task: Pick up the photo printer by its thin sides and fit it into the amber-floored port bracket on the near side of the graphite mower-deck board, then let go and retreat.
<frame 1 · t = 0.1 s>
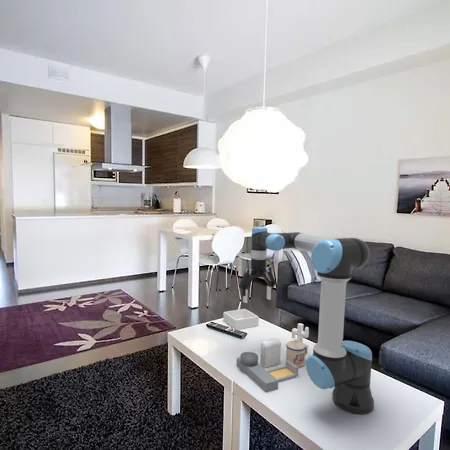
hand: (257, 300, 164), 28 cm above the table, fingers open, 13 cm apart
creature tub: (240, 323, 208), on the table
photo printer: (270, 364, 158), on the table
figurine: (299, 352, 171), on the table
teacup with lid: (297, 362, 160), on the table
deck: (255, 376, 147), on the table
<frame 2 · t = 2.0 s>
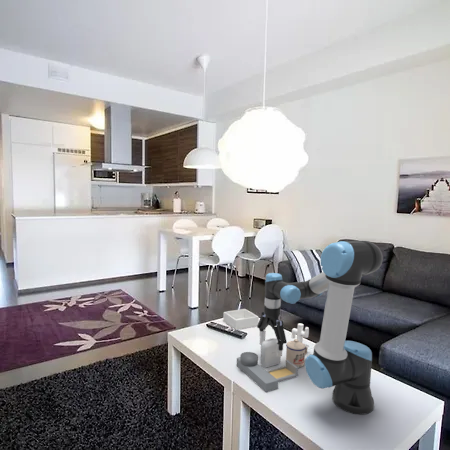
hand: (270, 349, 157), 7 cm above the table, fingers open, 13 cm apart
nothing on the table moved.
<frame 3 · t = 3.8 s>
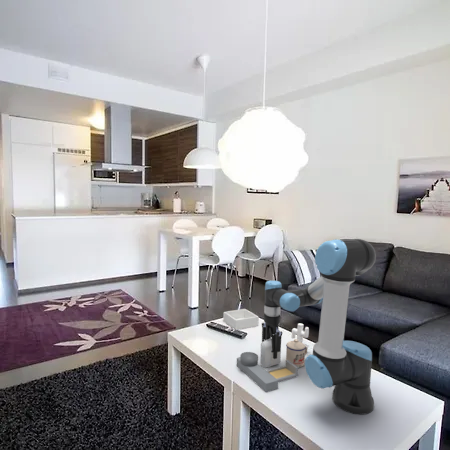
hand: (270, 361, 157), 1 cm above the table, fingers closed on photo printer, 4 cm apart
photo printer: (270, 364, 158), on the table, touching gripper
everything else where it was.
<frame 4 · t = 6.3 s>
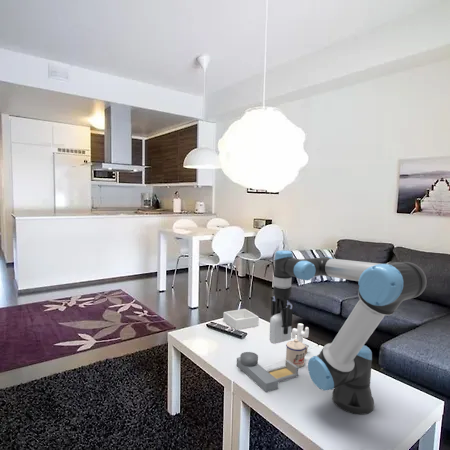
hand: (280, 338, 146), 17 cm above the table, fingers closed on photo printer, 4 cm apart
photo printer: (280, 341, 146), point 16 cm above the table, touching gripper
everything else where it was.
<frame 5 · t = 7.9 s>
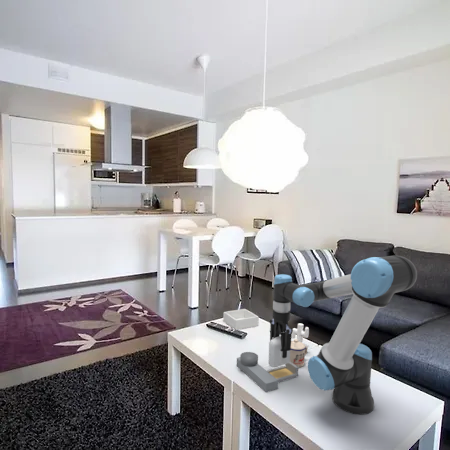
hand: (279, 361, 147), 7 cm above the table, fingers closed on photo printer, 4 cm apart
photo printer: (279, 364, 147), point 5 cm above the table, touching gripper
everything else where it was.
when the fingers open (3 cm above the table, at t = 9.3 s): photo printer drops 1 cm, resting on deck.
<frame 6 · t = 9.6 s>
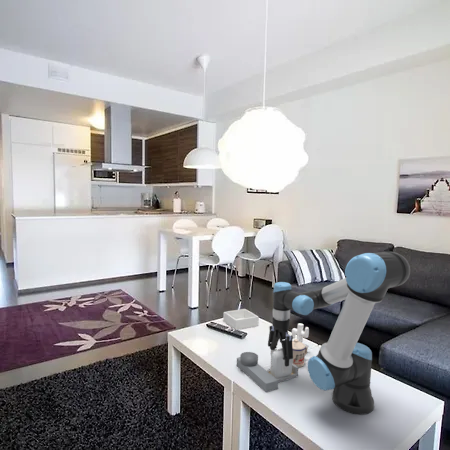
hand: (279, 367, 147), 4 cm above the table, fingers open, 8 cm apart
photo printer: (280, 375, 147), resting on deck
everything else where it was.
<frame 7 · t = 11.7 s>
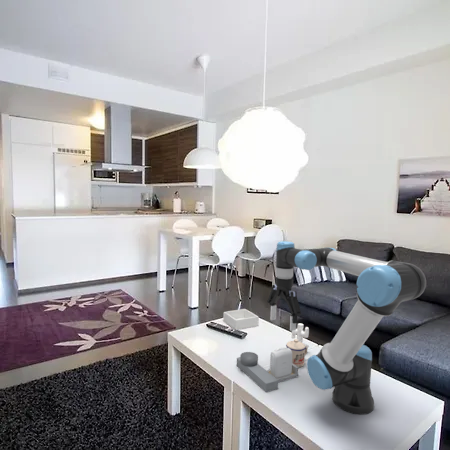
hand: (282, 324, 146), 23 cm above the table, fingers open, 13 cm apart
nothing on the table moved.
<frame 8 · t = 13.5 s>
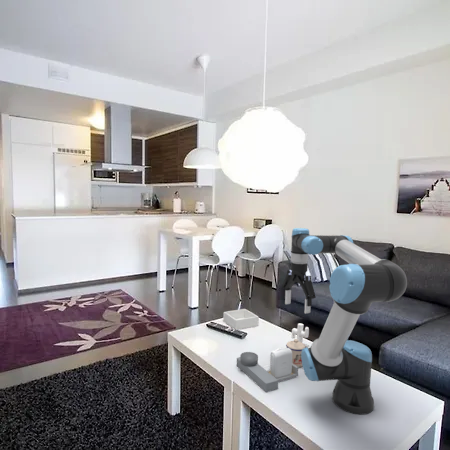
hand: (297, 308, 152), 29 cm above the table, fingers open, 13 cm apart
nothing on the table moved.
at the end: photo printer inside the target area on the deck (1.0 cm from its centre), point 0.3 cm above the deck's base; photo printer tilted 0°; the gripper is holding nothing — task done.
